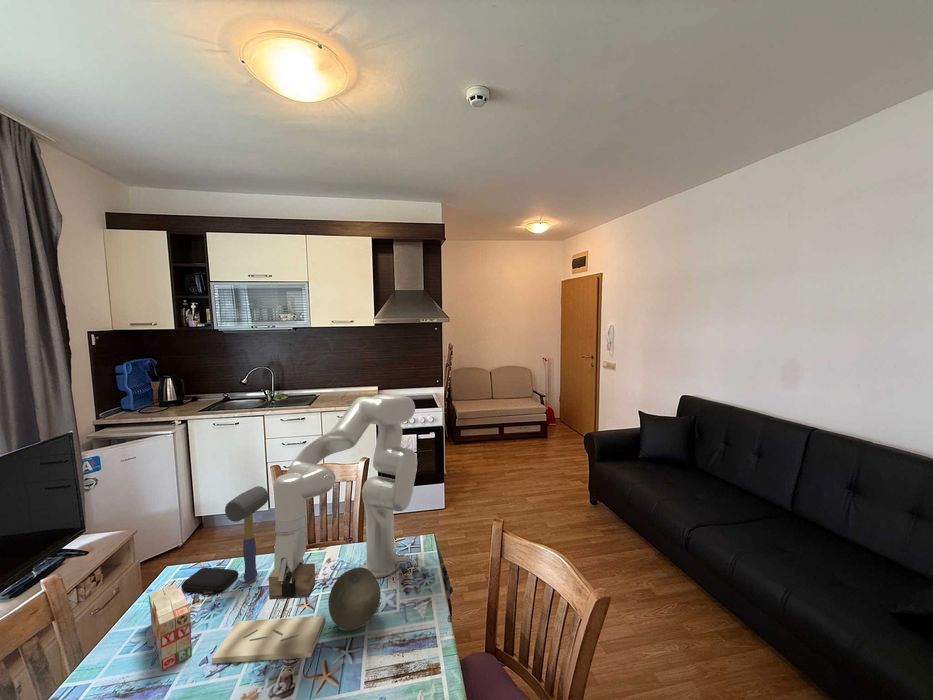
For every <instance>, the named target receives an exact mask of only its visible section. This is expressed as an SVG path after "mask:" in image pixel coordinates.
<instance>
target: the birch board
mask: <svg viewBox="0 0 933 700" xmlns="http://www.w3.org/2000/svg"><path fill="white" fill-rule="evenodd" d="M325 623H326V616H325V615H321V616H320V615H319V616H318V615H317V616H302V617H301V616H300V617H287V618H286V617H284V618H270V619H252V620H251V619H250V620H248V619H247V620H237V621H236V623H235V624H234V625H233V627H232V628H231V630H230V631H229V632H228V634H226V637H225V638H224V640H223V641H222V643H221V644H220V646H218V648H217V649H216V651H215V652H214V654H213V655H212V657H211V664H213V665H214V664H226V663H227V664H229V663H244V662H257V661H259V662H260V661H271V660H272V661H273V660H274V661H275V660H288V659H305V658H306V659H307V658H311V657H312V655H313V653H314V650H315V647H316V646H317V643H318V640H319V637H320V635H321V634H322V633H321V632H322V629H323V627H324V625H325Z"/></svg>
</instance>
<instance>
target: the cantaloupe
mask: <svg viewBox="0 0 933 700" xmlns="http://www.w3.org/2000/svg"><path fill="white" fill-rule="evenodd" d="M381 593H382V591H381V587H380V583H379V581H378V578H375V576H374V575H373V574H372V572H371V571H369V570H368V569H366V568H362V566H361V567H354V568H351V569H349V570H347V571H345V572H343V573H342V574H340V576H338V577H337V578H336V580H335V581H334V583H333V585H332V586H331V589H330V592H329V596H328V612H329V616H330V618H331V620H332V621H333V623H334V625H336V626H337V628H339V629H340V630H344V631H355V630H358V629H360V628H362V627H364V626H365V625H366V624H367V623H368V622H369V621H370V620H371V619H372V618H373V617H374V615H375V614H376V612H378V611H377V610H378V609H379V606H380V602H381V597H382V596H381V595H382V594H381Z"/></svg>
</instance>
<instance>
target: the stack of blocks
mask: <svg viewBox="0 0 933 700" xmlns="http://www.w3.org/2000/svg"><path fill="white" fill-rule="evenodd" d="M186 598H187V597H186V596H185V594H184V593H183V589H182V588H181V587H180V588H178V587H177V584H176V583H174V584H170V585H169V586H165V587H163V588H161V589H158V590H155V591H153V592H151V593H149V594H148V601H149V603H148V604H149V610H150V622H151V628H152V634H153V639H154V642H155V645H156V649H157V654H158V659H159V665H160V670H161V672H163V671H165V670H167V669H170V668H171V667H173V666H175V665H176V666H177V664H179V663H182V662H183V661H185V660H188V659H189V658H191V657H193V645H192V622H191V616H192V615H191V609H190V607H189V603H188V602H187V599H186Z"/></svg>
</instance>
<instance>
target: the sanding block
mask: <svg viewBox="0 0 933 700" xmlns="http://www.w3.org/2000/svg"><path fill="white" fill-rule="evenodd" d="M287 569H289V567H287ZM279 573H280V571H279V572H278V573H275V571H274V569H273V570H272V571H271V573H270V574H269V576H268V598H269V599H268V600H270V601H272V600H286V599H289V600H290V599H303V598H304V599H306V598H307V599H308V598H310V597H311V594H312V592H313V591H314V588H315V586H316V564H315V563H303V564H299V565H298V566H297V568H296V569H295V570H294V581H295V593H296V594H295V596H294V597H282V584H281V582H280V581H278V578H279ZM286 576H289V577H290V573H286Z"/></svg>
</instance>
